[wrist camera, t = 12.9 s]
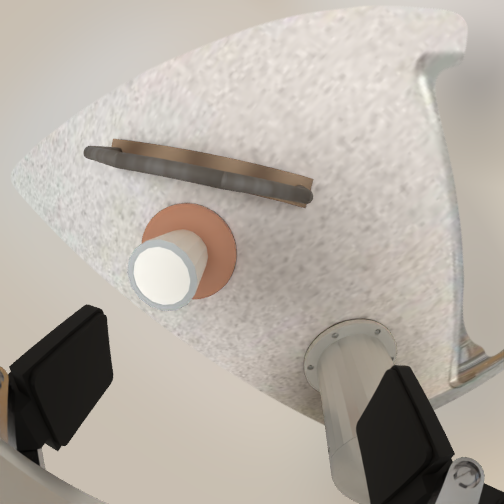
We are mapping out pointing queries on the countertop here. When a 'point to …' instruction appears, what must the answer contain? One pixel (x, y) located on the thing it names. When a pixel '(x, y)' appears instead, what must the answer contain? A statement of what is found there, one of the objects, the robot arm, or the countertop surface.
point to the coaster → (209, 231)
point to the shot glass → (168, 269)
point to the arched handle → (205, 170)
